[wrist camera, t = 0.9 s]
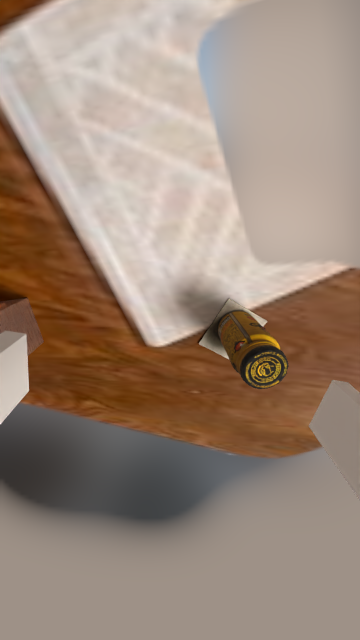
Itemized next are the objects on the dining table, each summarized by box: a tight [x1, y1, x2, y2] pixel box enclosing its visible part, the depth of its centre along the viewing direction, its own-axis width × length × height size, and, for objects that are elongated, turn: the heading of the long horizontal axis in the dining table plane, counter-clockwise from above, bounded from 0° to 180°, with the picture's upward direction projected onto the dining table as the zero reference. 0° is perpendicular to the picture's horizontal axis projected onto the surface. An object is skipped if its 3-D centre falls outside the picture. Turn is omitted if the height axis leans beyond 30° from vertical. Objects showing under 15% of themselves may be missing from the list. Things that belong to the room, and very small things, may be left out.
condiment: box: [199, 299, 288, 389], centre depth 31 cm, size 7×8×12 cm
